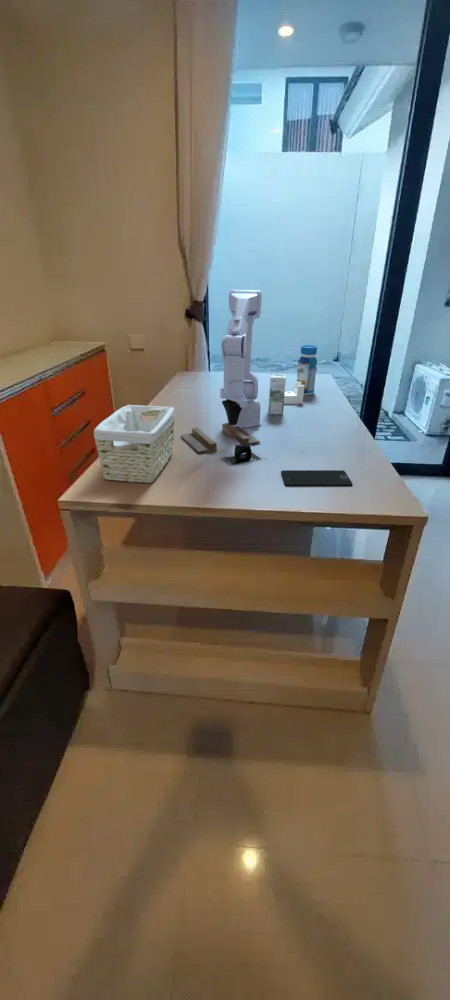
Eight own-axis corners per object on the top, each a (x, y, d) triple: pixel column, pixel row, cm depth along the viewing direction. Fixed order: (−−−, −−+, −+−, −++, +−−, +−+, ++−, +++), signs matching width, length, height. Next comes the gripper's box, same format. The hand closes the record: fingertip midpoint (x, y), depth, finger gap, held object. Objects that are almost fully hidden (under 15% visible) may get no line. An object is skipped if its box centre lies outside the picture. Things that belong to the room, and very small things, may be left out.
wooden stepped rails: (237, 428, 154) (237, 421, 153) (259, 443, 142) (260, 436, 140) (181, 436, 146) (180, 429, 145) (198, 453, 134) (198, 446, 133)
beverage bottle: (315, 395, 192) (320, 348, 183) (296, 395, 193) (300, 347, 183) (312, 390, 200) (317, 344, 190) (294, 390, 200) (298, 344, 190)
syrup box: (282, 410, 173) (285, 373, 166) (283, 415, 167) (285, 377, 160) (268, 410, 173) (270, 373, 166) (268, 415, 168) (270, 376, 161)
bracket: (299, 399, 188) (300, 381, 184) (302, 404, 182) (304, 386, 178) (269, 399, 187) (270, 382, 184) (271, 404, 181) (272, 386, 177)
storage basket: (128, 449, 137) (123, 402, 130) (179, 452, 135) (177, 405, 128) (97, 482, 117) (89, 429, 109) (156, 487, 114) (152, 433, 107)
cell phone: (352, 487, 116) (353, 484, 115) (284, 487, 115) (285, 484, 115) (344, 473, 124) (344, 470, 123) (280, 473, 123) (280, 470, 123)
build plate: (254, 453, 137) (255, 438, 134) (266, 461, 131) (267, 446, 129) (218, 459, 132) (219, 444, 130) (229, 468, 126) (230, 453, 124)
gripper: (210, 375, 130) (211, 418, 137) (232, 386, 119) (231, 433, 125) (232, 372, 133) (231, 416, 140) (254, 383, 122) (253, 430, 128)
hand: (232, 424), depth 133 cm, fingers closed
